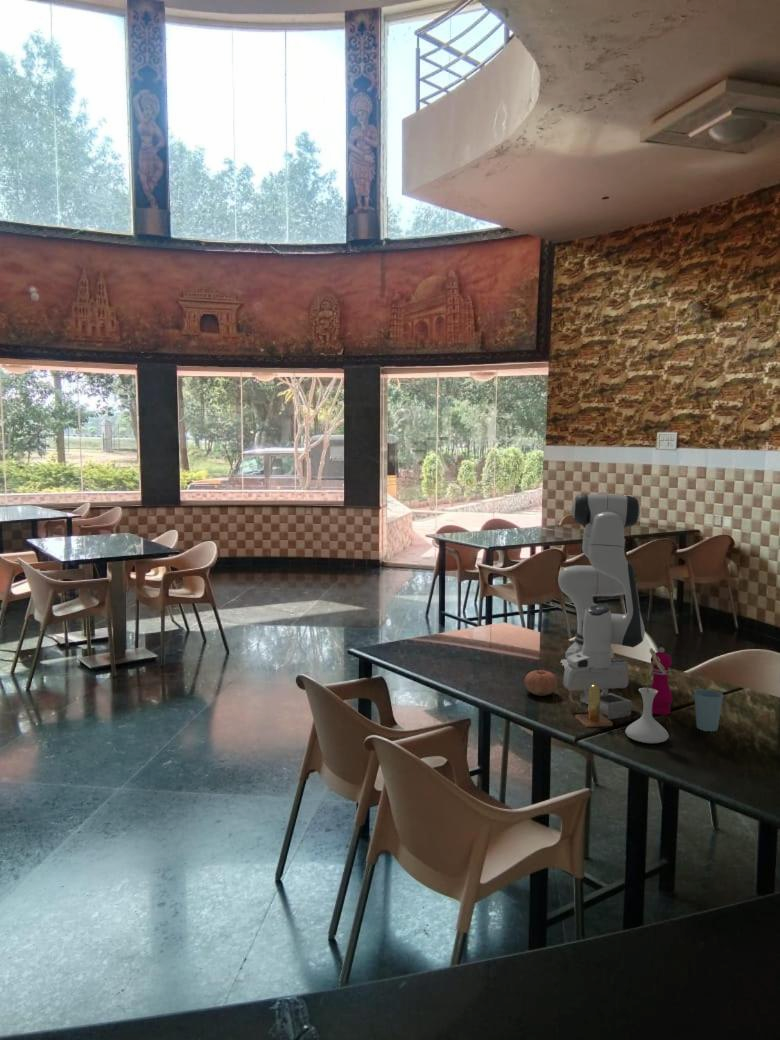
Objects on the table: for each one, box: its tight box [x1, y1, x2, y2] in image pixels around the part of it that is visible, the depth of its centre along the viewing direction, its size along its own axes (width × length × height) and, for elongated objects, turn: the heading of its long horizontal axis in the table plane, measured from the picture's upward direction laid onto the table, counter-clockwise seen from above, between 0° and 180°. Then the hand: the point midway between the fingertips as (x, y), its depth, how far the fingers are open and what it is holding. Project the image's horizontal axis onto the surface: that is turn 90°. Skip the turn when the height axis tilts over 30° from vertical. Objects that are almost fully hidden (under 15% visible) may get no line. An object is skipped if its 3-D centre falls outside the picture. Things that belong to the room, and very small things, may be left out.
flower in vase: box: [625, 647, 670, 744], centre depth 208 cm, size 13×11×25 cm
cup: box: [693, 688, 724, 733], centre depth 217 cm, size 8×8×10 cm
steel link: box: [580, 690, 633, 720], centre depth 234 cm, size 17×9×4 cm, turn 25°
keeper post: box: [574, 685, 614, 728], centre depth 222 cm, size 8×8×11 cm
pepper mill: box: [649, 646, 673, 716], centre depth 232 cm, size 7×7×20 cm
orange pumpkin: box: [523, 669, 559, 697], centre depth 249 cm, size 11×11×8 cm
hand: (595, 702), depth 236 cm, fingers open, 2 cm apart
